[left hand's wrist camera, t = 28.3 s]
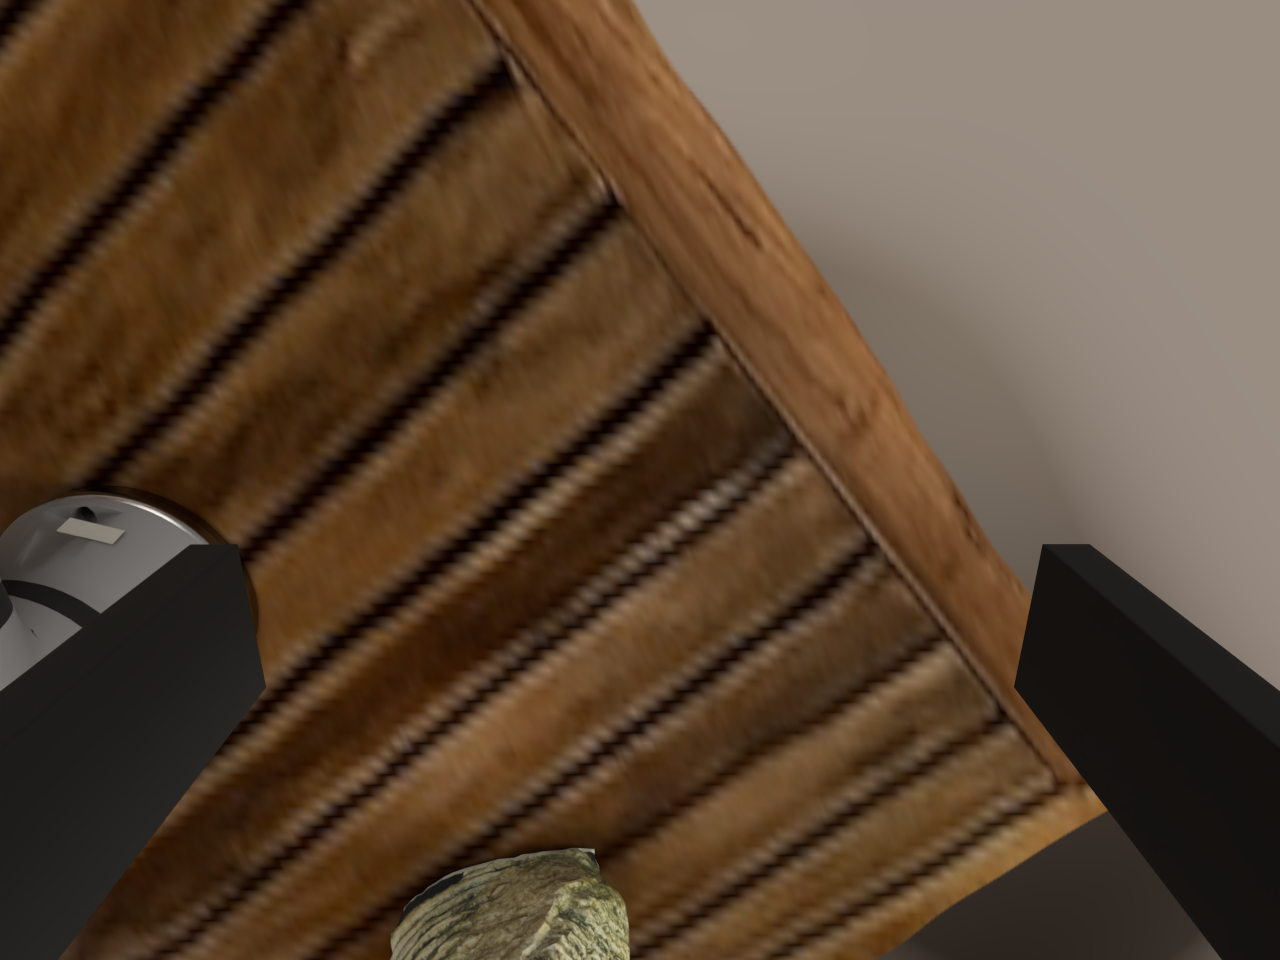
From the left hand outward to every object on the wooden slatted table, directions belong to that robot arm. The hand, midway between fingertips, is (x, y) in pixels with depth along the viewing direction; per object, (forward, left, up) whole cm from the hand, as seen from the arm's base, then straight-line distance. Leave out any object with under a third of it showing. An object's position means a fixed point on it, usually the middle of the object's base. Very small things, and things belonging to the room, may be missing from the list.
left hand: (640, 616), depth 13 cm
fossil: (-36, -24, -32) cm, 53 cm away
